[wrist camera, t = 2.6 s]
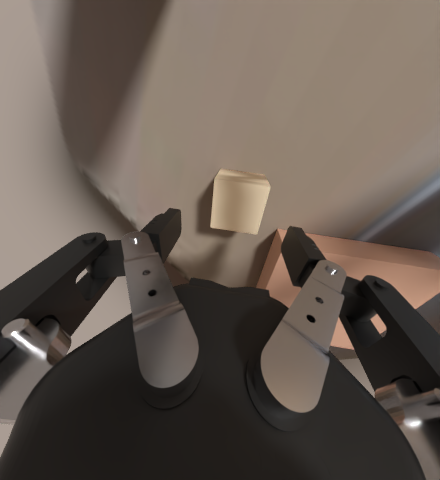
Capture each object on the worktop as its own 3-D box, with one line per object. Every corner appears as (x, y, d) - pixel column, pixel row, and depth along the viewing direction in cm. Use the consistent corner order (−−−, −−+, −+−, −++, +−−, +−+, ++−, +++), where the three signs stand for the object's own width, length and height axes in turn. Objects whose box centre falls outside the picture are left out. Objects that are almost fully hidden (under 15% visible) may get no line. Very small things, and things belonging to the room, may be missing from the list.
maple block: (264, 174, 18) (270, 186, 14) (254, 214, 21) (257, 234, 17) (220, 168, 18) (214, 179, 14) (216, 208, 21) (210, 227, 17)
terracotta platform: (430, 251, 21) (465, 274, 17) (345, 327, 32) (356, 350, 29) (277, 228, 21) (283, 246, 18) (247, 311, 33) (247, 331, 29)
